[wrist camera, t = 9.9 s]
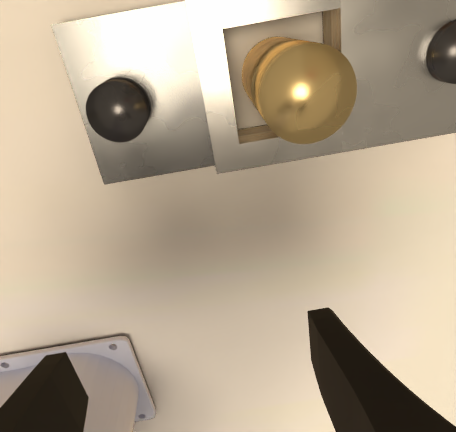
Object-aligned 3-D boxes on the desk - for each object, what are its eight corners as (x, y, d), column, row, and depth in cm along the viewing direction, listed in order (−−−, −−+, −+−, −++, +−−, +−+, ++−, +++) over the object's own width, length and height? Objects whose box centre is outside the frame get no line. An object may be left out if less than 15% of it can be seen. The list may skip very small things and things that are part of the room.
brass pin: (246, 114, 18) (265, 151, 13) (237, 43, 17) (254, 51, 12) (311, 103, 18) (356, 135, 13) (307, 31, 17) (357, 34, 12)
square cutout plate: (109, 175, 19) (95, 199, 17) (60, 24, 16) (33, 24, 13) (457, 115, 19) (498, 130, 16) (477, -50, 16) (533, -65, 13)
